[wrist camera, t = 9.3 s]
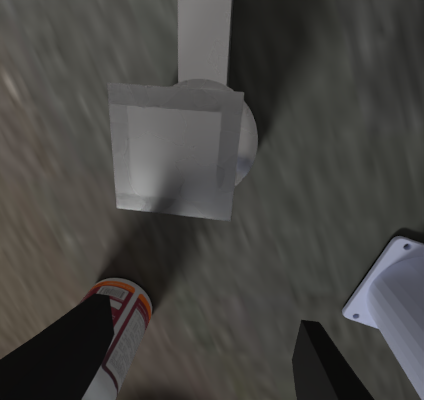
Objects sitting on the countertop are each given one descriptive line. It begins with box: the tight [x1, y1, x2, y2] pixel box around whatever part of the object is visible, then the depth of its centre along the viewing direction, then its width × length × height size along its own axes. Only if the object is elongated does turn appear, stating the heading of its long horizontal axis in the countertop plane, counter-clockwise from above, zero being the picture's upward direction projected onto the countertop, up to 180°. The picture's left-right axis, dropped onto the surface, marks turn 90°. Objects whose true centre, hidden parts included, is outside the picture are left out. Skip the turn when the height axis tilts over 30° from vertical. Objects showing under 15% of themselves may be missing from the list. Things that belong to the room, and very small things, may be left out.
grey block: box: [107, 83, 244, 221], centre depth 12 cm, size 5×5×6 cm
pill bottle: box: [78, 278, 152, 400], centre depth 18 cm, size 6×6×11 cm
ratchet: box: [171, 0, 258, 186], centre depth 13 cm, size 19×7×5 cm, turn 178°
